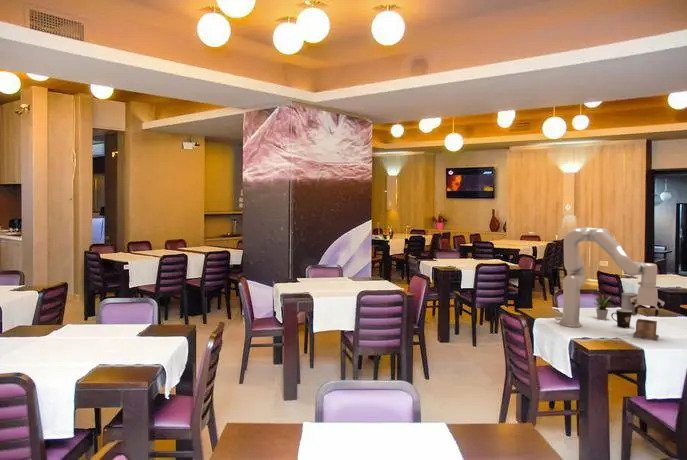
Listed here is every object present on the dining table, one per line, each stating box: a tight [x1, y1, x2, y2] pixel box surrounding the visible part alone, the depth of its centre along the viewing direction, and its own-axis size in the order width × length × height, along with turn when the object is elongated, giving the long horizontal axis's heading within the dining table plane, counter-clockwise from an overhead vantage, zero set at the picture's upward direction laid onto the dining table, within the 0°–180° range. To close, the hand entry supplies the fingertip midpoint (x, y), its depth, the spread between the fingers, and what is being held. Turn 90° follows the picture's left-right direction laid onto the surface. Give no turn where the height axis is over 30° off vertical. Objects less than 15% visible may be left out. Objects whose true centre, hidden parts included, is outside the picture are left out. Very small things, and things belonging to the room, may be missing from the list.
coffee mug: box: [610, 308, 633, 329], centre depth 336 cm, size 12×9×10 cm
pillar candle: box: [620, 292, 638, 316], centre depth 373 cm, size 10×10×15 cm
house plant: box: [591, 293, 612, 320], centre depth 357 cm, size 14×14×16 cm
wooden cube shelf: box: [632, 318, 660, 341], centre depth 312 cm, size 12×12×9 cm
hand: (646, 315), depth 311 cm, fingers open, 9 cm apart
